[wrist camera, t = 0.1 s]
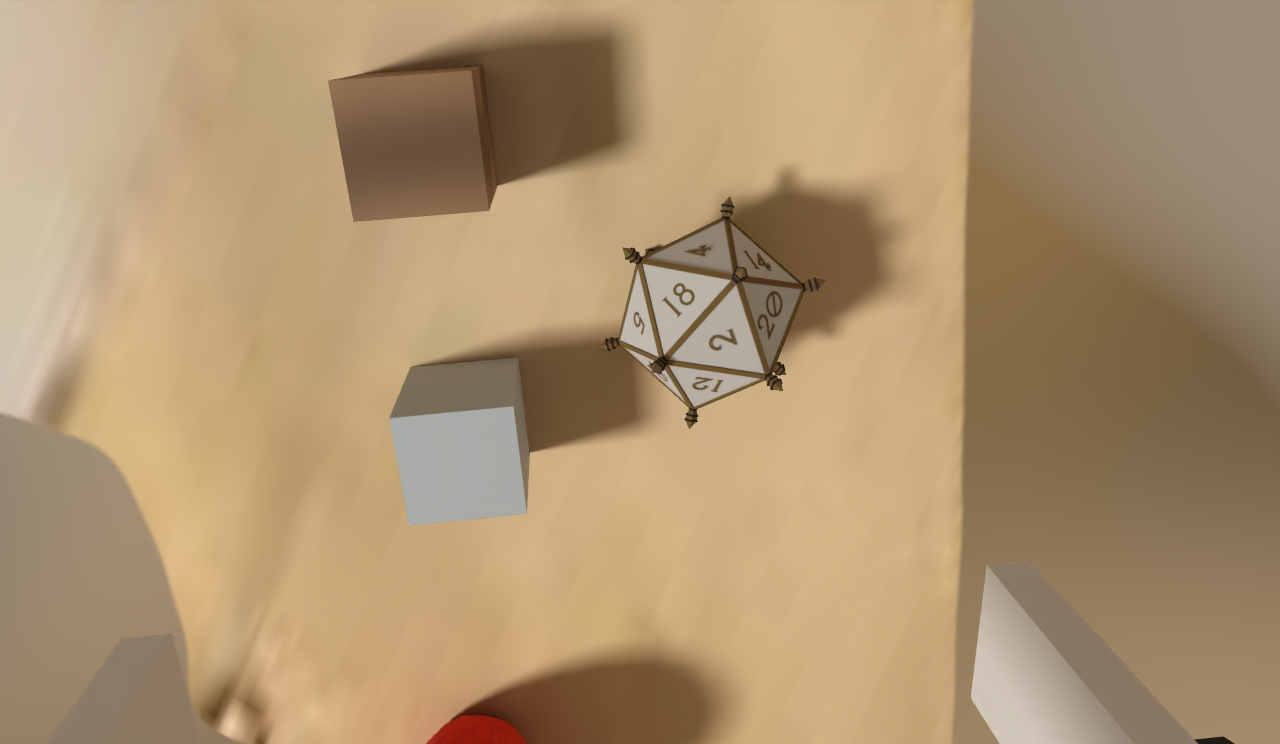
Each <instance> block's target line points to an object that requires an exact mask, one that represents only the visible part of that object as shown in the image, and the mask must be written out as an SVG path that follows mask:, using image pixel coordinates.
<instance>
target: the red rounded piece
mask: <svg viewBox="0 0 1280 744" xmlns="http://www.w3.org/2000/svg"><path fill="white" fill-rule="evenodd" d="M427 744H527V743H526V741H525V740H524V739H523V737H522V736H521V735H520V733H519V732H518V731H517V729H516V728H515V727H514V726H512V725H511V724H509V723H508V722H506V721H505V720H502V719H498V718H494V717H490V716H485V715H462V716H461V717H459V718H457V719H455V720H453V721H451V722H449V723H447V724H445V725H444V726H443V727H442V728H441V729H440V730H439V731H438V732H437V733H436V734H435V735H434V736H433V737H432V738H431V739H430V740H429V741H428V742H427Z"/></svg>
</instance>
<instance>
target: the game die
mask: <svg viewBox="0 0 1280 744" xmlns="http://www.w3.org/2000/svg"><path fill="white" fill-rule="evenodd" d="M721 206H722V210H721V212H722V218H721V219H719V220H717V221H715V222H713V223H711V224H709V225H706V226H704V227H702V228H700V229H698V230H696V231H694V232H692V233H690V234H688V235H686V236H684V237H682V238H680V239H678V240H676V241H673V242H671V243H669V244H667V245H665V246H663V247H661V248H659V249H657V250H653V249H650V250H647V249H646V254H645V256H643V257H641V256H640V255H639V252H636V251H635V248H630V249H629V248H623V251H624V254H625V259H626V260H627V259H628V260H629V261H630V263H632V262H633V263H636V267H635V271H634V275H633V279H632V283H631V287H630V292H629V296H628V300H627V304H626V308H625V312H624V316H623V320H622V324H621V328H620V333H619V337H618V338H612V337H611V339H607V338H606V340H605V342H604V343H603V344H602V345H601V346H600V348H602V349H606V350H608V351H610V350H611V349H615V348H616V347H617V346H619V345H620V346H621V347H622V348H624V349H625V350H626V351H627V352H628V353H629V354H630V355H631V356H632V357H633V358H635V359H636V360H637V361H638V362H639V363H640V364H641V365H642V366H643V367H644V368H646V369H647V370H648V371H649V372H650V373H651V374H652V375H653V376H654V377H656V378H657V379H658V380H659V381H660V382H661V383H662V384H663V385H664V386H665V387H667V388H668V389H669V390H670V391H671V392H672V393H673V394H674V395H675V396H677V397H678V398H679V399H680V400H681V401H682V402H683V403H684V404H685V405H686V406H688V407H689V411H688V412H687V413H686V415H687V417H686V418H685V420H686V422H687V425H688V427H689V429H690V428H691V427H692V426H693V425H694V424H695V423H696V422H698V421H697V417H698V415H697V409H698V408H701V407H703V406H705V405H708V404H710V403H713V402H715V401H717V400H720V399H722V398H724V397H727V396H729V395H732V394H734V393H736V392H739V391H741V390H743V389H746V388H748V387H750V386H753V385H755V384H758V383H760V382H762V381H765V380H766V381H767V386H770V387H771V388H770V389H771V390H779V391H783V389H782V381H781V379H778V377H777V375H779V376H780V375H786V373H785V367H784V364H781V363H780V362H777V360H778V358H779V355H780V353H781V350H782V348H783V345H784V342H785V340H786V337H787V335H788V332H789V330H790V327H791V325H792V322H793V319H794V317H795V314H796V312H797V309H798V307H799V304H800V301H801V299H802V296H803V294H804V292H805V291H811V292H813V291H812V290H816V289H817V290H818V288H819V287H820V286H821V285H822V284H823V283H824V281H825V280H820V279H815V277H814V279H812V280H808V281H807V282H805V283H801V282H800V281H799V280H798V279H797V278H795V277H794V276H793V275H792V274H791V273H790V272H789V271H787V270H786V269H785V268H784V267H783V266H782V265H781V264H780V263H778V262H777V261H776V260H775V259H774V258H773V257H772V256H771V255H769V254H768V253H767V252H766V251H765V250H764V249H763V248H761V247H760V246H759V245H758V244H757V243H756V242H755V241H754V240H752V239H751V238H750V237H749V236H748V235H747V234H746V233H744V232H743V231H742V230H741V229H740V228H739V227H738V226H737V225H735V224H734V223H733V222H732V221H731V220H730V216H731V214H733V212H732V211H733V208H734V206H733V204H732V201H731V198H730V197H729V198H728V199H727V200H726V201H725V203H724V204H723V205H722V204H721ZM773 372H775V374H776V375H775V376H774V375H772V373H773Z"/></svg>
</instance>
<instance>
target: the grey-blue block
mask: <svg viewBox="0 0 1280 744" xmlns="http://www.w3.org/2000/svg"><path fill="white" fill-rule="evenodd" d="M389 420H390V425H391V431H392V436H393V442H394V447H395V453H396V458H397V464H398V469H399V475H400V480H401V486H402V491H403V497H404V502H405V508H406V513H407V519H408V524H409V526H412V525H422V524H432V523H441V522H451V521H460V520H470V519H480V518H489V517H499V516H508V515H518V514H527V500H528V478H529V456H530V451H529V443H528V435H527V427H526V418H525V410H524V402H523V393H522V385H521V377H520V369H519V360H518V357H514V358H503V359H492V360H481V361H471V362H460V363H449V364H438V365H427V366H416V367H410V370H409V372H408V374H407V377H406V379H405V382H404V384H403V386H402V389H401V391H400V394H399V396H398V399H397V401H396V403H395V406H394V408H393V411H392V413H391V415H390V418H389Z"/></svg>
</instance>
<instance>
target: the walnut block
mask: <svg viewBox="0 0 1280 744" xmlns="http://www.w3.org/2000/svg"><path fill="white" fill-rule="evenodd" d="M328 82H329V88H330V93H331V99H332V104H333V110H334V115H335V121H336V127H337V132H338V138H339V143H340V149H341V154H342V160H343V165H344V171H345V176H346V182H347V187H348V193H349V198H350V204H351V209H352V215H353V221H354V222H358V221H370V220H382V219H394V218H407V217H419V216H431V215H443V214H456V213H468V212H480V211H489V209H490V206H491V203H492V200H493V197H494V194H495V191H496V188H497V178H496V170H495V162H494V153H493V145H492V137H491V129H490V120H489V112H488V104H487V95H486V87H485V79H484V71H483V65H479V66H465V67H451V68H437V69H423V70H409V71H395V72H380V73H366V74H358V75H354V76H349V77H344V78H339V79H334V80H330V81H328Z"/></svg>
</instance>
